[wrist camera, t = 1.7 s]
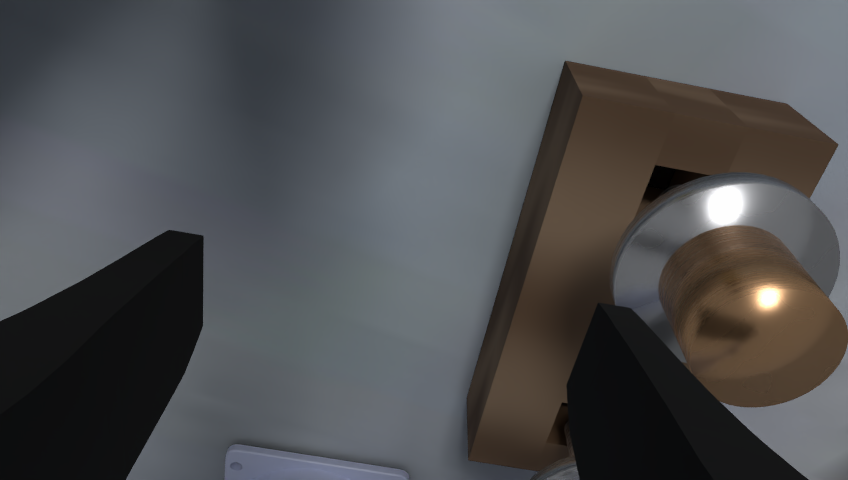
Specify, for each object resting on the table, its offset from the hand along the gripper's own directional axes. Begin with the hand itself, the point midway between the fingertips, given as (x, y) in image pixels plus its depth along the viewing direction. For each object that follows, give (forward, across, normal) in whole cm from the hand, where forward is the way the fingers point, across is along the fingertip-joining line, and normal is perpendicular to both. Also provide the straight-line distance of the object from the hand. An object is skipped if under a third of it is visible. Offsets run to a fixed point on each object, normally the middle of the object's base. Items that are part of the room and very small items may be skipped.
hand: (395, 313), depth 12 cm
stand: (+10, -8, +4) cm, 14 cm away
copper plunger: (+7, -8, 0) cm, 11 cm away
